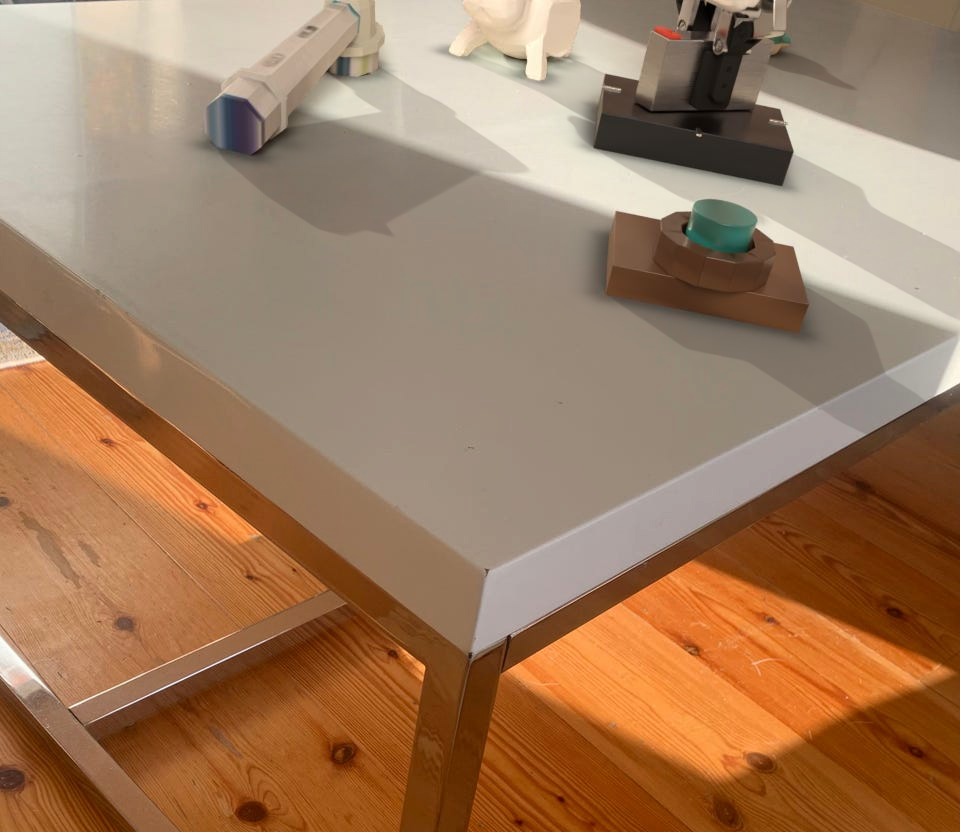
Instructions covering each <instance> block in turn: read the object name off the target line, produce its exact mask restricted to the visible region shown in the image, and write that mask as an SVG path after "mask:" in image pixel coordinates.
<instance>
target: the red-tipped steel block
mask: <svg viewBox="0 0 960 832" xmlns="http://www.w3.org/2000/svg"><path fill="white" fill-rule="evenodd" d="M715 33H716V31H715V32H708V31H677V30H672V29H671V28H668V27H667V26H655V27H654V29H651V30H650V33H649V36H648V37H649V38H648V41H647V45H646V49H645V54H644V57H643V62H642V66H641V70H640V75H639V79H638V80H639V83H638V87H637V91H636V95H635V99H634V101H635V102H637V103H638V104H640V105H641V106H643V107H645V108H646V109H648V110H649V111H707V110H697V109H695V108H694V107H692V105H691V100H692V96H693V93H694V89H695V85H696V81H697V78H698V74H699V70H700V67H701V63H702V59H703V56H704V54H705V51H713V49H712V46H713V41H714V37H715ZM773 45H774V41H772V40H770V39H768V38H767V39H763V40H761V41H760V42H759V43H757V44H756V45H755V46H754V47H753V48H752V51H751V53H750V54H749V55H747V56H743V57H742V61H741V64H740V68H739V71H738V75H737V78H736V81H735V85H734V88H733V92H732V95H731V99H730V102H729V105H728V107H727V108H726V109H718V110H754V108H755V104H757V101H758V97H759V95H760V91H761V88H762V84H763V81H764V79H765V75H766V71H767V68H768V66H769V65H768V64H769V61H770V59H771V56H772V55H771V52H772V49H773Z"/></svg>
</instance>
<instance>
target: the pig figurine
mask: <svg viewBox="0 0 960 832" xmlns="http://www.w3.org/2000/svg"><path fill="white" fill-rule="evenodd" d="M581 3H582V2H581V1H580V0H462V9H463V10H464V12H465V14H467V15H468V16H470V17H471V19H470V20H469V21H468V23H467V24H466V26H465V27H463V29H462V30H461V31H460V32H459V34H458V35H457V36H456V37H455V38H454V40H453V41H452V43H451V45H450V46H449V48H448V51H449V53H450V54H452V55H453V56H457V57H467V56H470V54H471V53H473V51H474V50H475V48H477V47H480V46H482V45H485V44H487V43H489V44H490V45H491V46H492V47H494V49H496V50H498V51H499V52H500V53H502V54H504V55H506V56H509V57H512V58H515V59H519V60H520V59H521V60H526V65H525V72H524V73H525V75H526V78H527V79H530V80H533V81H543V80H545V79H546V77H547V73H548V62H547V61H548V60H547V58H549V57H555V58H563V57H564V58H569V55H570V52H571V51H572V49H573V47H574V44H575V40H576V37H577V35H578V30H579V27H580V24H581V8H582V5H581Z"/></svg>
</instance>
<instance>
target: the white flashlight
mask: <svg viewBox="0 0 960 832" xmlns="http://www.w3.org/2000/svg"><path fill="white" fill-rule="evenodd" d="M385 38H386V34H385V31H384V27H383V25H382V24H381V23H380V22H377V21H376V1H375V0H323V9H321V10H320V11H319V12H318V13H316V14H315V15H314V16H312V17H311V18H310V19H309V20H308V21H307V22H306V23H304V24H303V25H302V26H301V27H299V28H298V29H297V30H295V31H294V32H293V33H292V34H290V35H289V36H287V38H285V39H284V40H283V41H282V42H280V43H279V44H278V45H276V46H275V47H274V48H273V49H272V50H271V51H269V52H268V53H267V54H266V55H264V56H263V57H261V58H260V59H259V60H258V61H257V62H255V63H254V64H253V65H252V66H251V67H249V68H246V67H242V66H241V67H240V68H239V69H238V70H236V71H235V72H233V73H232V75H231V76H229V77H228V78H227V79H226V80H224V81H223V82H222V83H220V93H219V94H218V95H217V96H216V97H215V98H214V99H213V100H212V101H211V102H210V103H209V104H208V105H207V106H206V107H205V108H203V117H204V119H203V120H204V134H205V135H206V136H207V137H208V139H209V140H210V141H211V142H212V144H213V145H214V146H215V147H216V148H220V149H223V150H227V151H231V152H234V153H239V154H243V155H247V156H251V155H253V154H255V153H256V152H257V151H259V150H260V149H261V148H262V147H263V146H264V145H265V143H266V142H268V141H269V140H272V139H274V138H275V137H276V136H277V135H279V134H280V133H282V132H283V131H285V130H286V129H287V128H288V127H289V116H290V115H291V114H292V113H293V111H295V109H296V108H297V107H298V106H299V105H300V104H301V102H302V101H303V100H304V99H305V97H306V96H307V95H308V94H309V92H311V90H312V89H313V88H314V87H315V85H317V83H318V81H320V79H322V77H323V76H324V75H325V73H326V72H327V73H330V74H334V75H339V76H342V77H361V76H364V75H366V74H369V75H373V74H374V73H376V72H377V71H378V69H379V60H380V59H379V57H380V50H381V48H382V47H383V46H384V44H385Z"/></svg>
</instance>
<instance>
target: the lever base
mask: <svg viewBox="0 0 960 832" xmlns="http://www.w3.org/2000/svg"><path fill="white" fill-rule="evenodd" d="M638 83H639V79H634V78H628V77H624V76H620V75H614V74H609V73H605V74H604V77H603V82H602V85H601V90H600V96H599V98H598V105H597V110H596V119H595V128H594V141H593V149H596V150H600V151H605V152H609V153H614V154H618V155H619V154H620V155H625V156H630V157H635V158H639V159H645V160H648V161H649V160H650V161H654V162H659V163H665V164H669V165H670V164H671V165H674V166H679V167H683V168H689V169H695V170H698V171H704V172H708V173H714V174H718V175H724V176H729V177H732V178H738V179H743V180H747V181H752V182H753V181H754V182H758V183H763V184H768V185H772V186H779V187H783V186H784V185H783V184H784V182H785V179H786V176H787V173H788V170H789V168H790V164H791V161H792V159H793V156H794V152H795V151H794V148H793V145H792V144H793V143H792V141H791V137H790V135H789V132H788V128H787V126H788V125H789V123H788V122H787V121H785V119H784V117H783V114H782V111H781V108H777V107H771V106H766V105H762V104H757V103H756V104H755V108H754V110H707V111H649V110H648V109H646V108H645V107H643V106H641V105H640V104H638V103H637V102H635V101H634V99H635V95H636V91H637V87H638Z"/></svg>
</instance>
